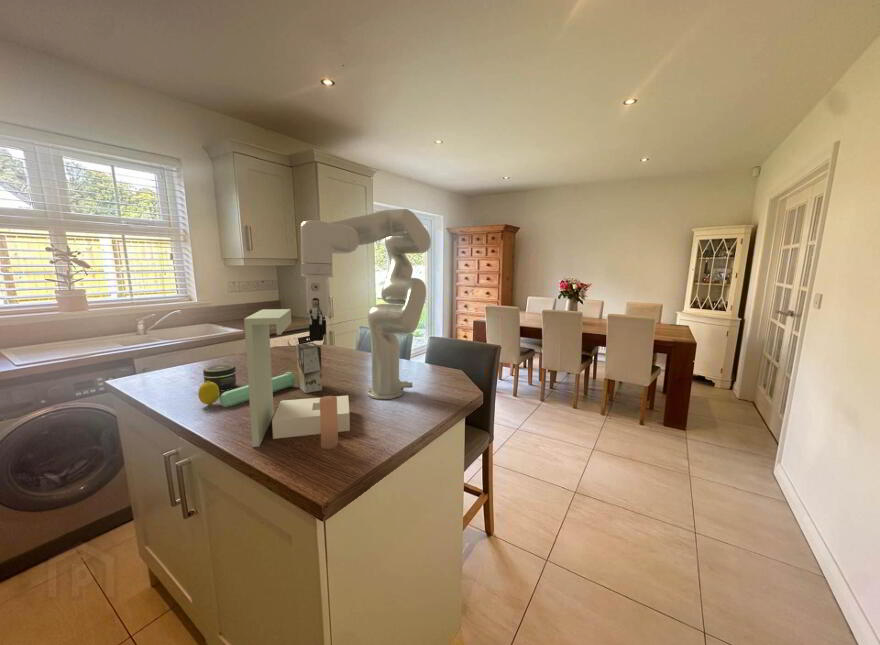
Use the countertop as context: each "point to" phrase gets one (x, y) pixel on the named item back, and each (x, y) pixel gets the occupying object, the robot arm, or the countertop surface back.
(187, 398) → the countertop surface
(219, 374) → the jar
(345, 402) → the socket block
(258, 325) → the grey hook bracket
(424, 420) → the countertop surface
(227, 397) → the container
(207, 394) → the lemon
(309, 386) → the coffee box
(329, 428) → the peg
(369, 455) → the countertop surface
